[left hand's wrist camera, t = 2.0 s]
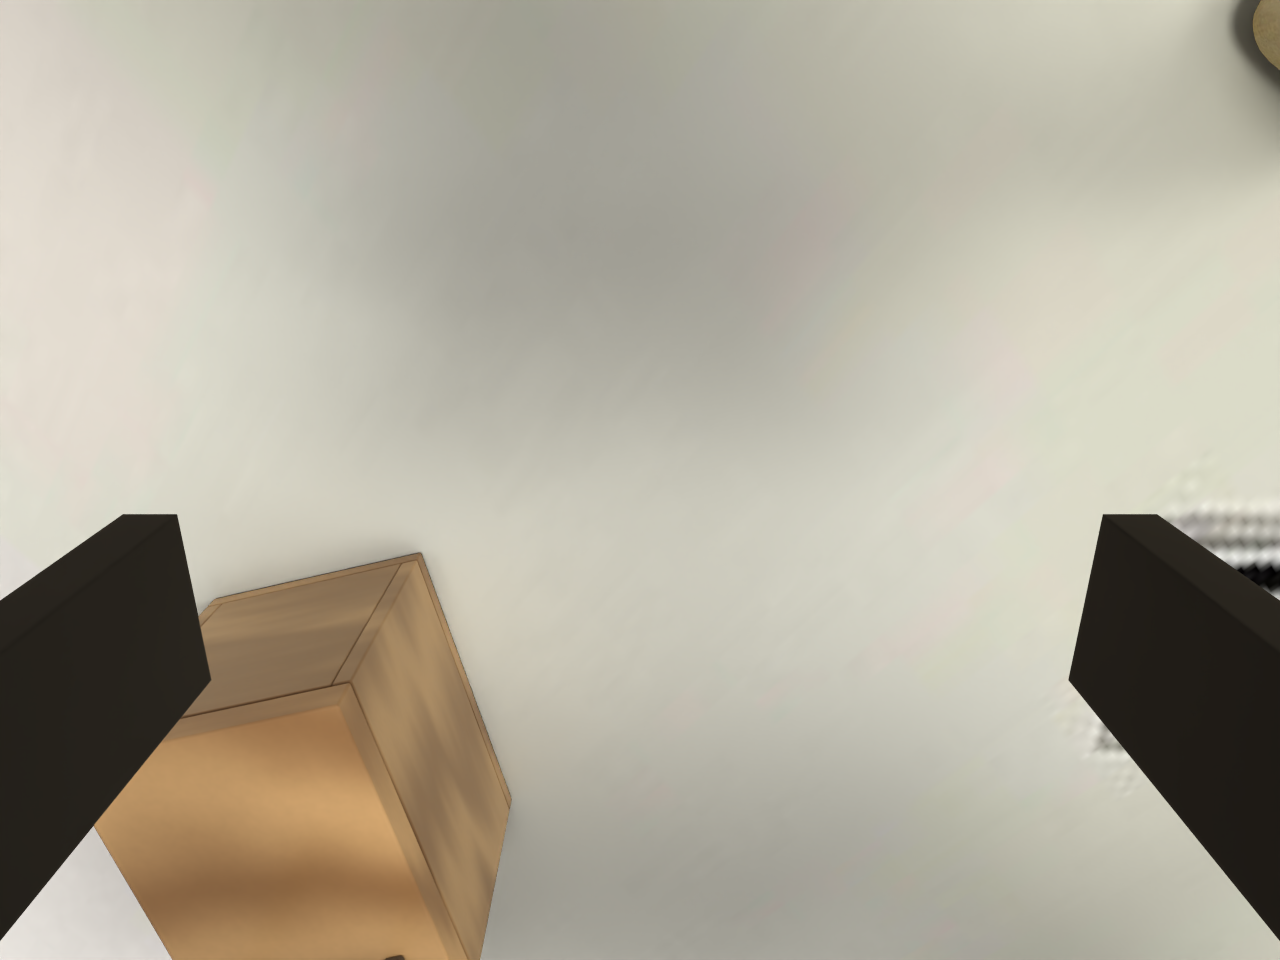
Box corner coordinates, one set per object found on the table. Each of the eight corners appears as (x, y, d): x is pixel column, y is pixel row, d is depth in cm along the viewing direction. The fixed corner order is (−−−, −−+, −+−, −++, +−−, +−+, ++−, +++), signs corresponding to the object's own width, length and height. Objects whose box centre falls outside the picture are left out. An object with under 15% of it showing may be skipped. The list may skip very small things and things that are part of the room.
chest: (512, 799, 41) (477, 977, 32) (326, 836, 42) (241, 1020, 33) (421, 552, 36) (351, 680, 28) (214, 598, 37) (80, 738, 28)
